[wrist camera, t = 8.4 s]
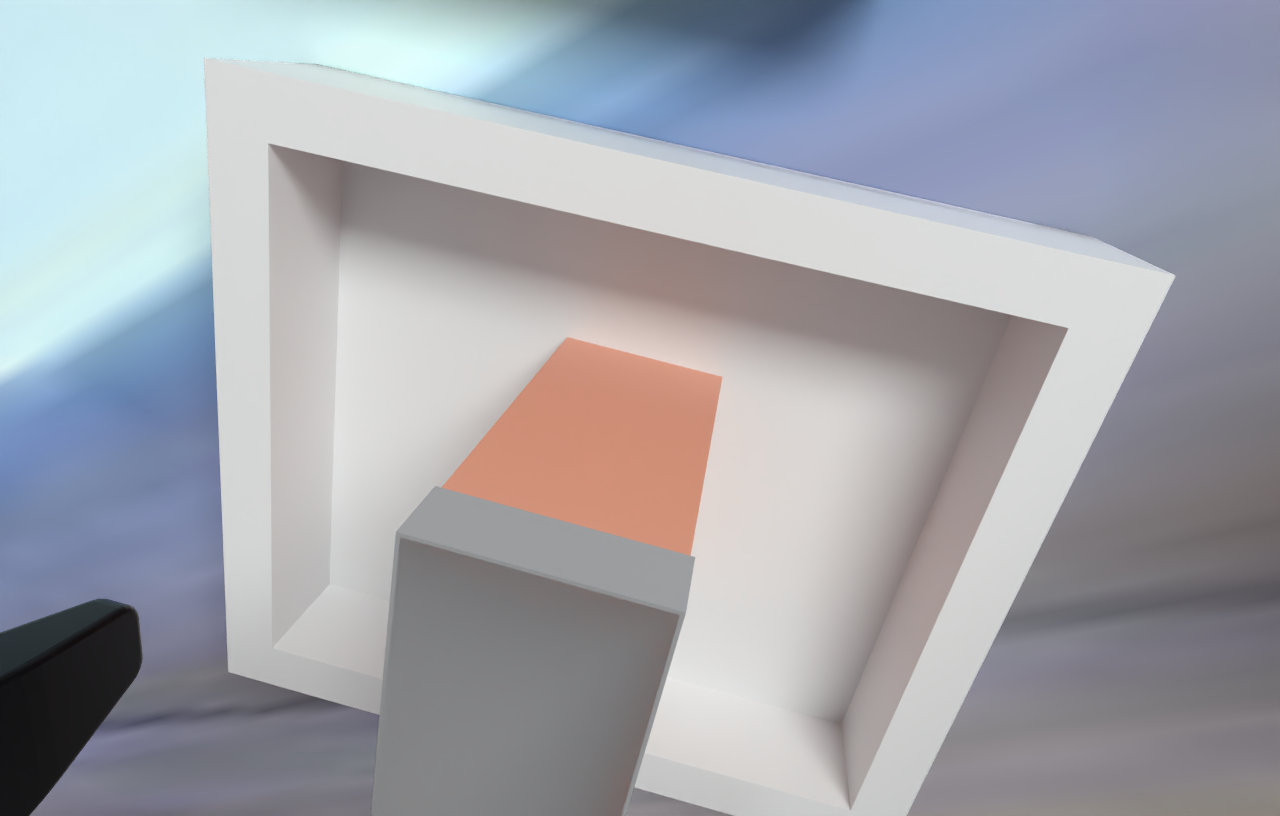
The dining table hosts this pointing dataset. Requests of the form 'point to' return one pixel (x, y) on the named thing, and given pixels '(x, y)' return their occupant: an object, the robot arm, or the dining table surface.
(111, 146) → the dining table surface
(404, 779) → the block
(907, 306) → the parts tray
